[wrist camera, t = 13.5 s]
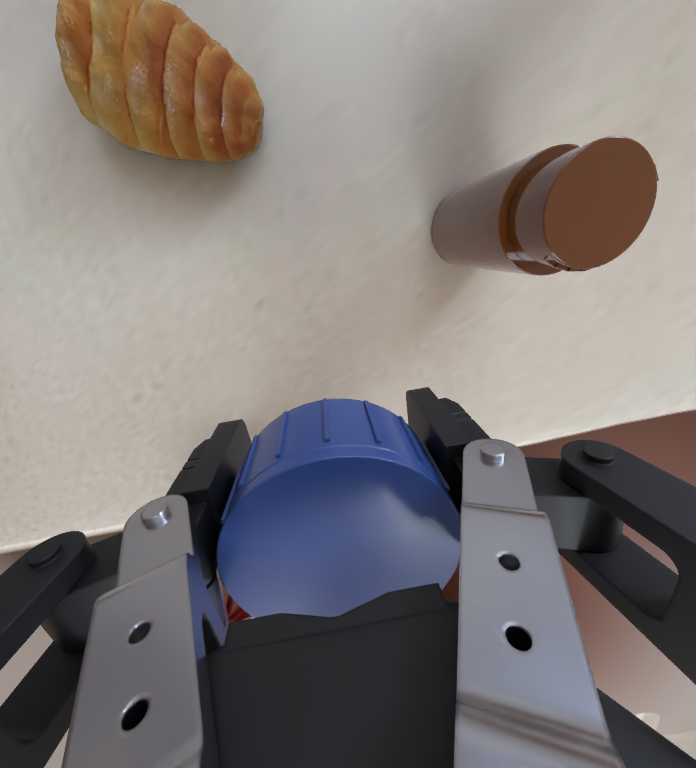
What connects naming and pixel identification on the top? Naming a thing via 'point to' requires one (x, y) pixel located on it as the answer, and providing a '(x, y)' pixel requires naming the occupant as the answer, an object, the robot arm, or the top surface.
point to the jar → (550, 210)
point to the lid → (335, 513)
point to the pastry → (157, 80)
